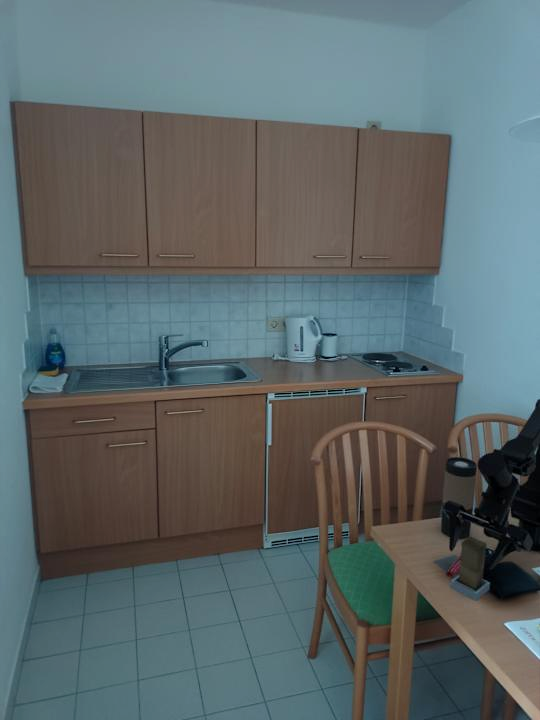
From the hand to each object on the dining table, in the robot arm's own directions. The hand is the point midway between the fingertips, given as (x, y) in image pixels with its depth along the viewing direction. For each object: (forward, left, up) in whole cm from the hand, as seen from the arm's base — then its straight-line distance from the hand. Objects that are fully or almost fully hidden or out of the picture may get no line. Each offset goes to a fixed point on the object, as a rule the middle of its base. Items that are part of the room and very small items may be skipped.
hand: (469, 559), depth 113 cm
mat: (-8, -5, -8) cm, 12 cm away
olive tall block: (-1, 0, -8) cm, 8 cm away
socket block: (-1, 0, -8) cm, 8 cm away
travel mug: (-24, -9, -8) cm, 27 cm away
